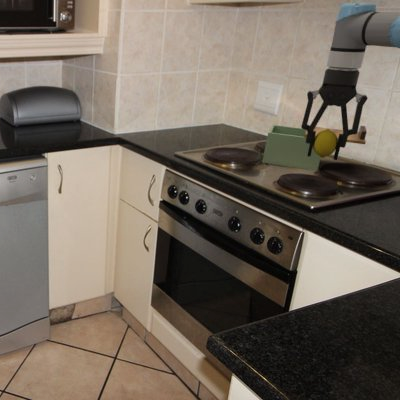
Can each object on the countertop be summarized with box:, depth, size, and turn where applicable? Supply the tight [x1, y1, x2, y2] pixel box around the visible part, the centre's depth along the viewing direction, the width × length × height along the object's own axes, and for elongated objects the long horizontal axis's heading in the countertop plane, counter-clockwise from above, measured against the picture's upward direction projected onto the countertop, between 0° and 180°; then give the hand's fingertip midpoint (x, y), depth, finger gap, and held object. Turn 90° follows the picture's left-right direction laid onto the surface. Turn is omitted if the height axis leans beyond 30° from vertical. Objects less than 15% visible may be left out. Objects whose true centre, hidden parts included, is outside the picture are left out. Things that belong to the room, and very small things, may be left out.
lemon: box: [313, 128, 337, 159], centre depth 128 cm, size 6×6×8 cm
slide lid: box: [304, 125, 367, 145], centre depth 145 cm, size 16×13×3 cm
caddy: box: [261, 124, 322, 171], centre depth 152 cm, size 16×13×10 cm
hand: (322, 156), depth 129 cm, fingers closed on lemon, 5 cm apart
